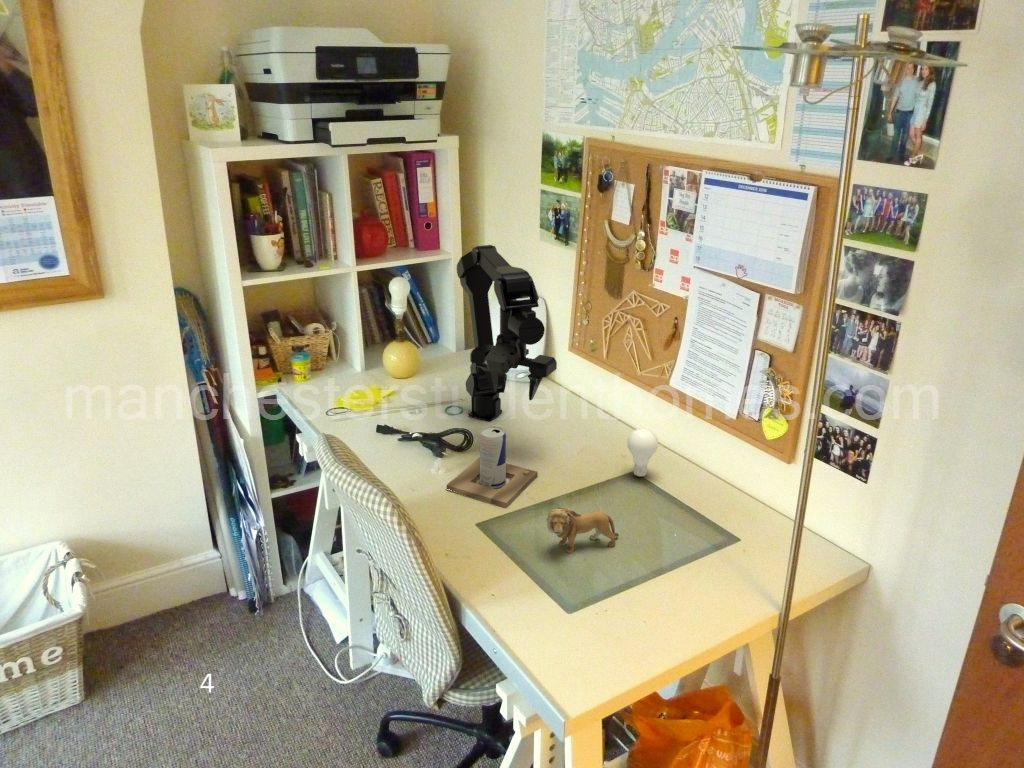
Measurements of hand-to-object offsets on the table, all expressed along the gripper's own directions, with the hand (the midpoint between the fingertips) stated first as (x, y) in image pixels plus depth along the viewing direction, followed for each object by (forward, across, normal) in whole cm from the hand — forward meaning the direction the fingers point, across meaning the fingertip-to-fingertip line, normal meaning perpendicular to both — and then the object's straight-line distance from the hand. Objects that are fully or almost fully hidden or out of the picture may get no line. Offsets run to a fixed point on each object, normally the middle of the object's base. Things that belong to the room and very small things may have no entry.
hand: (512, 395), depth 168 cm
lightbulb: (+13, +30, +2) cm, 33 cm away
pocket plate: (+13, +4, -16) cm, 21 cm away
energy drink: (+13, +4, -16) cm, 21 cm away
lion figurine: (+13, +29, -28) cm, 42 cm away
